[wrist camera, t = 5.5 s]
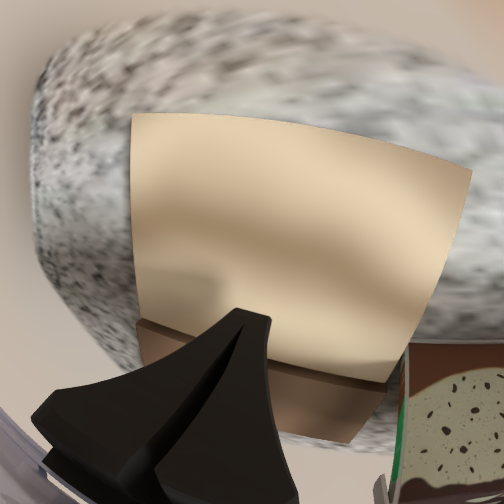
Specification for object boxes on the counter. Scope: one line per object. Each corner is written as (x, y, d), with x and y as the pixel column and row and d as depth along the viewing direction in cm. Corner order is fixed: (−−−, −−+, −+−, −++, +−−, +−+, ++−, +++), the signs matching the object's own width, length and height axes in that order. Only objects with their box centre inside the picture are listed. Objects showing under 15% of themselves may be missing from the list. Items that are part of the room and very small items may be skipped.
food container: (355, 403, 16) (335, 544, 8) (378, 335, 14) (374, 524, 5) (500, 399, 13) (521, 509, 4) (539, 337, 11) (588, 457, 2)
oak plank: (383, 363, 14) (384, 383, 13) (153, 303, 17) (140, 316, 16) (458, 165, 9) (472, 170, 8) (151, 113, 12) (132, 113, 11)
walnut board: (385, 371, 15) (387, 393, 13) (350, 424, 17) (348, 443, 16) (150, 309, 18) (135, 324, 16) (158, 370, 20) (148, 385, 19)
